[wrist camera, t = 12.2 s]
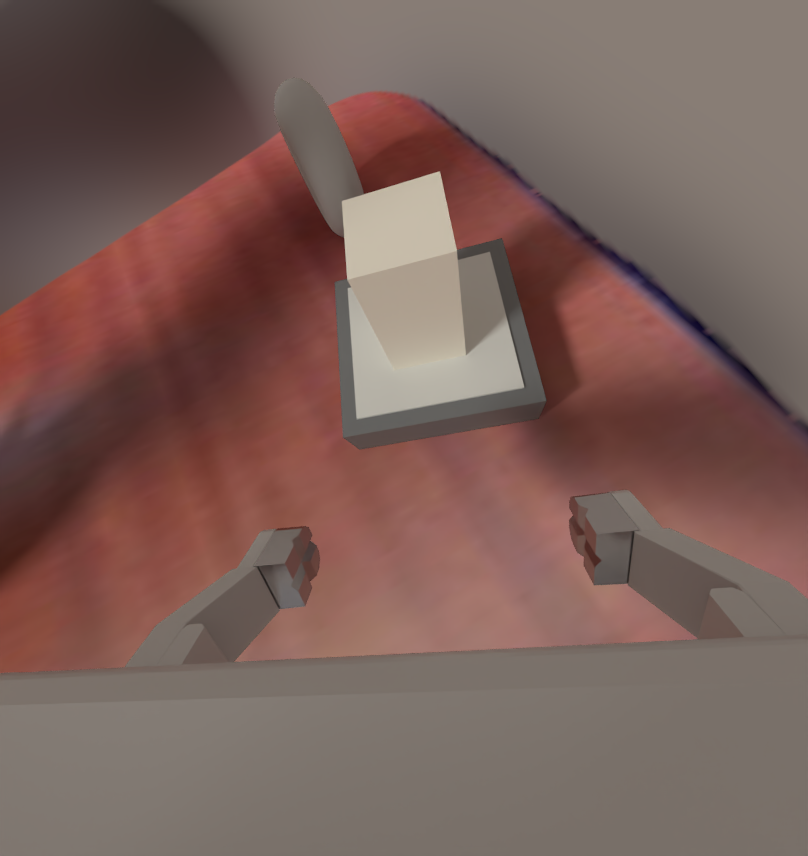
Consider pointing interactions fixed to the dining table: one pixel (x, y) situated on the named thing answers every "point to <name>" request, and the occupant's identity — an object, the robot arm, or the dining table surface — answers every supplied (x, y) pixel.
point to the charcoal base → (442, 364)
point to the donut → (317, 149)
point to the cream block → (406, 270)
